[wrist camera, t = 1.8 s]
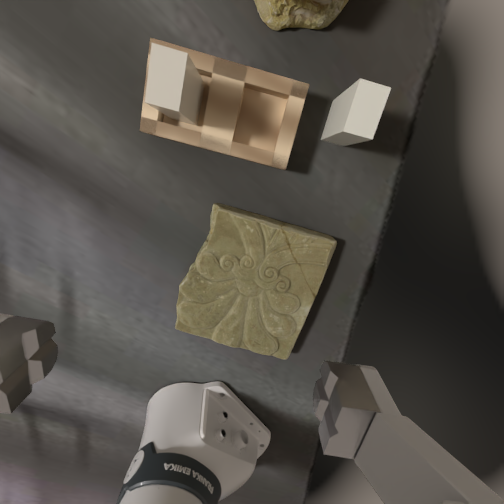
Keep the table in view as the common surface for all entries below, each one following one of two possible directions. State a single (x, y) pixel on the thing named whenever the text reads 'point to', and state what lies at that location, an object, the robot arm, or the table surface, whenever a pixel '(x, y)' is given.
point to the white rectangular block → (356, 113)
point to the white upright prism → (174, 84)
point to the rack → (235, 111)
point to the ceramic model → (299, 13)
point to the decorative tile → (253, 281)
